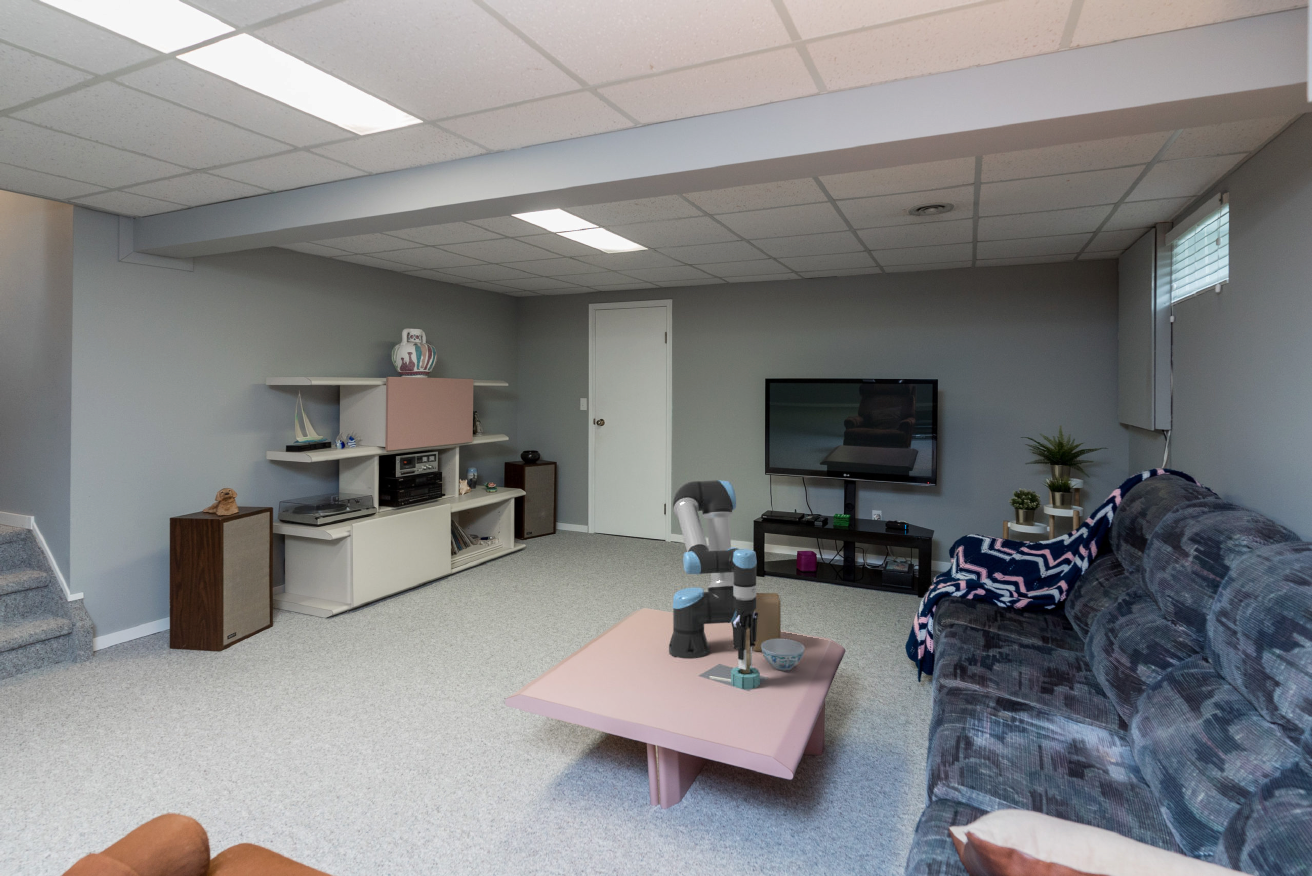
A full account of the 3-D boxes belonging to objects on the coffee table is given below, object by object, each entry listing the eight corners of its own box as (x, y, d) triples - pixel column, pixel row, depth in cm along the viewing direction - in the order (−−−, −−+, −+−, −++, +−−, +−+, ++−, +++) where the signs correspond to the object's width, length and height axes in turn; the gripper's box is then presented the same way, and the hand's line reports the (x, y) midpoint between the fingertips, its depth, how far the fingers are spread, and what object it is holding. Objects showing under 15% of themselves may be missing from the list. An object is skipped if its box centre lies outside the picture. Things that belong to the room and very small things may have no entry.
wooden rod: (739, 675, 227) (738, 624, 226) (743, 673, 229) (743, 622, 228) (746, 678, 225) (746, 626, 224) (751, 675, 227) (751, 623, 226)
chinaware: (802, 678, 232) (802, 656, 231) (758, 673, 236) (758, 651, 236) (806, 661, 246) (806, 640, 246) (764, 657, 250) (764, 636, 250)
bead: (726, 684, 227) (726, 672, 226) (741, 675, 234) (740, 663, 233) (750, 691, 221) (749, 679, 221) (764, 682, 228) (764, 670, 228)
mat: (698, 676, 234) (698, 675, 234) (719, 664, 244) (719, 663, 244) (748, 692, 221) (748, 690, 221) (768, 678, 231) (768, 677, 231)
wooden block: (778, 643, 264) (778, 592, 263) (780, 653, 254) (780, 600, 253) (752, 642, 265) (752, 591, 264) (753, 652, 255) (753, 599, 254)
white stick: (709, 678, 232) (709, 676, 232) (710, 677, 232) (710, 675, 232) (732, 681, 228) (732, 680, 228) (732, 681, 229) (732, 679, 229)
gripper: (741, 605, 217) (742, 677, 218) (767, 593, 229) (767, 661, 231) (721, 600, 222) (722, 671, 223) (747, 589, 234) (748, 656, 236)
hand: (745, 666), depth 227 cm, fingers closed on wooden rod, 3 cm apart
